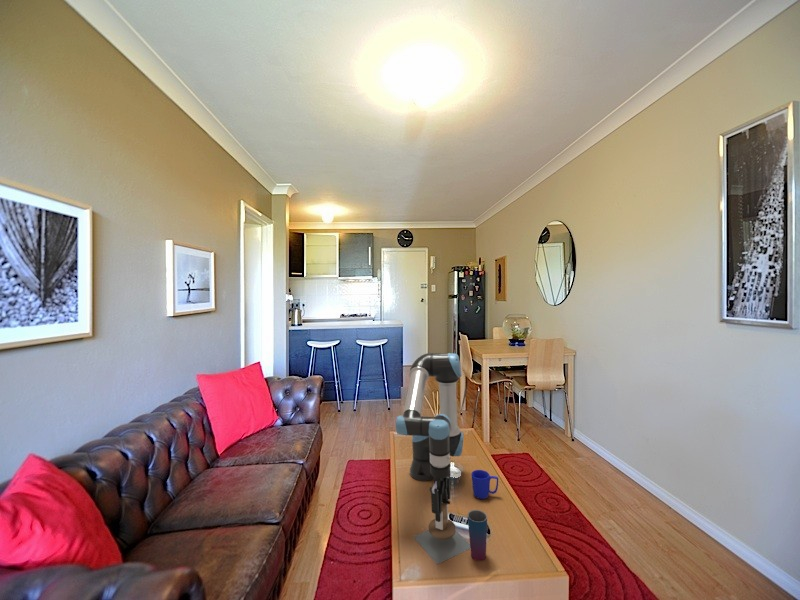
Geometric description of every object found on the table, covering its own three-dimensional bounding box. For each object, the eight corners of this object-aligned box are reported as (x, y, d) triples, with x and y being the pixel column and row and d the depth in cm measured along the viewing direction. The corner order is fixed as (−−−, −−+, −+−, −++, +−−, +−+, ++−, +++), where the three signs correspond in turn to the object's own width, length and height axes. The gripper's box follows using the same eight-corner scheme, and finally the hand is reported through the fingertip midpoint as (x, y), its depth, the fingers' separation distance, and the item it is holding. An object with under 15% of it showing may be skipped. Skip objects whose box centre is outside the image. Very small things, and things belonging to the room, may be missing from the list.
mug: (499, 502, 152) (499, 480, 152) (472, 500, 155) (471, 478, 155) (498, 492, 160) (497, 470, 160) (472, 490, 163) (471, 469, 163)
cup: (466, 551, 123) (465, 510, 123) (484, 549, 124) (483, 508, 124) (471, 566, 117) (470, 522, 117) (491, 564, 117) (489, 521, 117)
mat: (413, 539, 131) (413, 536, 131) (447, 524, 138) (446, 522, 138) (437, 567, 117) (436, 564, 117) (473, 549, 124) (473, 546, 124)
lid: (423, 526, 130) (422, 502, 130) (445, 517, 135) (444, 494, 135) (438, 543, 121) (437, 517, 121) (461, 532, 126) (460, 508, 126)
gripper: (439, 476, 118) (441, 542, 119) (457, 455, 133) (459, 514, 133) (420, 471, 122) (422, 535, 123) (440, 451, 137) (442, 508, 137)
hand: (441, 524), depth 128 cm, fingers closed on lid, 4 cm apart
